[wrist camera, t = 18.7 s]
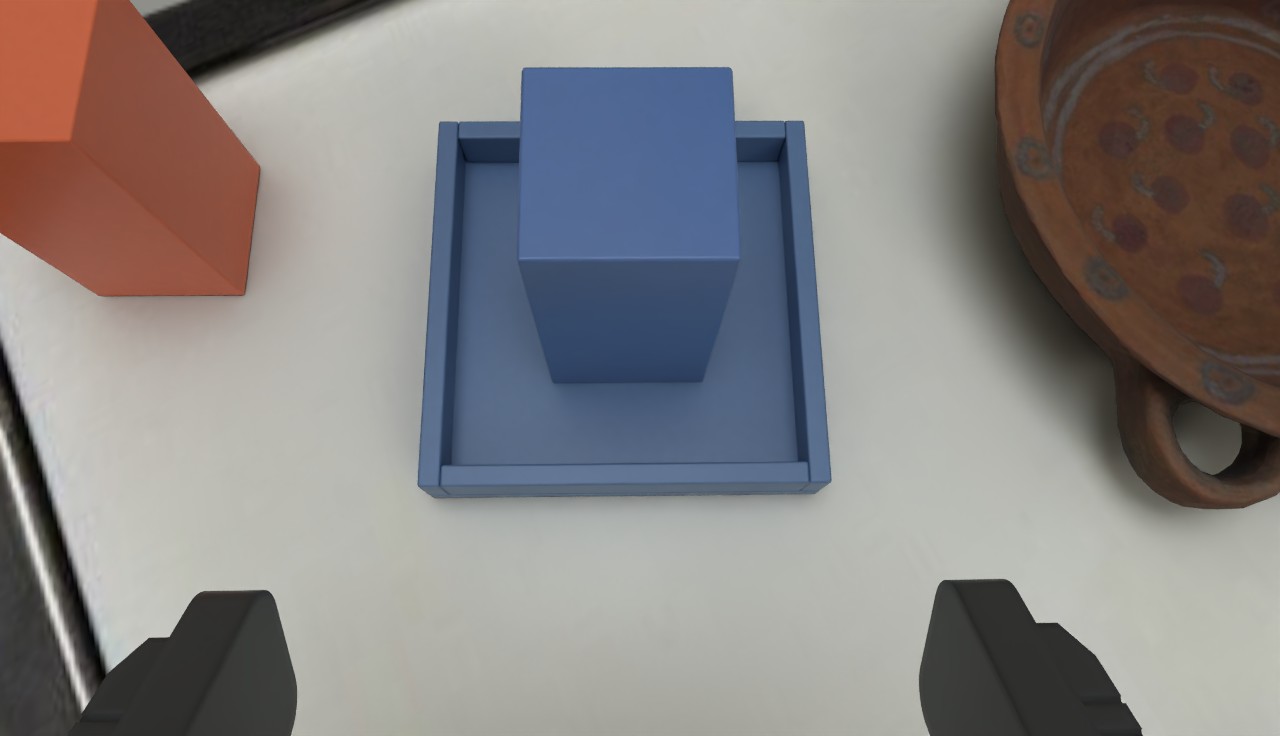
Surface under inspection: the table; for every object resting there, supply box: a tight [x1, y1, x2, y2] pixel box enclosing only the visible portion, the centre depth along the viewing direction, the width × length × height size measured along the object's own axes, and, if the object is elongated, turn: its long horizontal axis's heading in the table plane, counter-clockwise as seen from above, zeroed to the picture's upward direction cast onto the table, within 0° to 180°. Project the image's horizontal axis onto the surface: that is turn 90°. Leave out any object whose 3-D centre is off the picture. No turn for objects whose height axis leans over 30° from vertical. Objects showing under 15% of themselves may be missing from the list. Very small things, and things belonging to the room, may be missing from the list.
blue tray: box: [418, 121, 831, 498], centre depth 26 cm, size 11×11×2 cm
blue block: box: [516, 67, 742, 383], centre depth 22 cm, size 4×4×9 cm
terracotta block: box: [0, 0, 260, 296], centre depth 24 cm, size 4×4×9 cm
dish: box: [995, 0, 1280, 509], centre depth 26 cm, size 18×22×5 cm
